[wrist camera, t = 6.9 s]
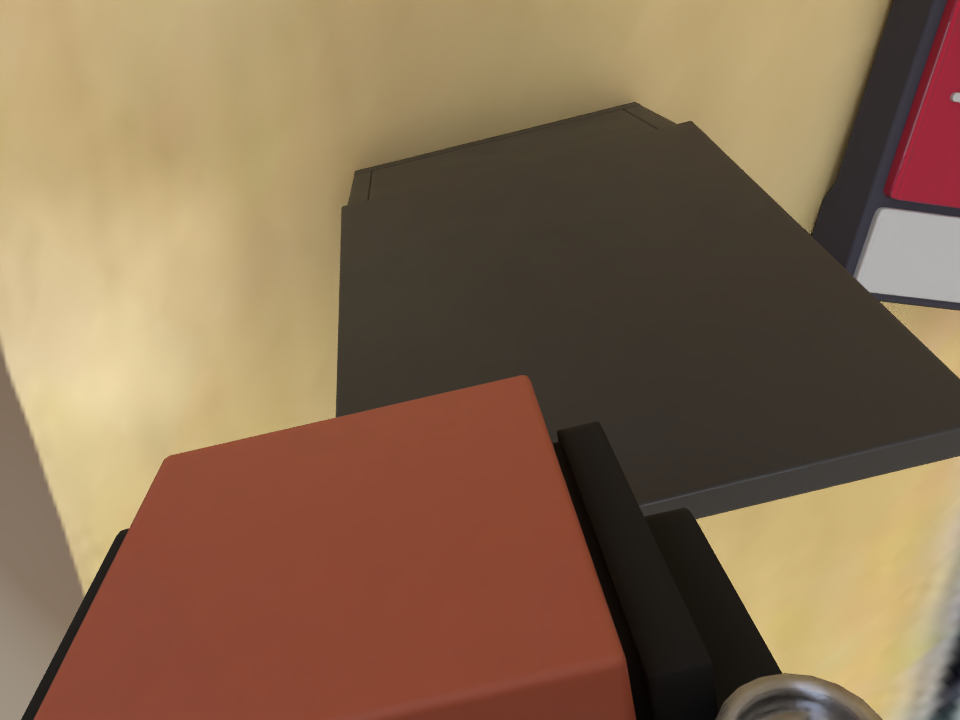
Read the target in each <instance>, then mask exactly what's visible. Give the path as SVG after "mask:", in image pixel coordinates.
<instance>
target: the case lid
mask: <svg viewBox="0 0 960 720" xmlns="http://www.w3.org/2000/svg"><path fill="white" fill-rule="evenodd" d="M520 375H526V376H528V378H529V379H530V380H531V383H532V386H533V389H534V392H535V395H536V398H537V401H538V403H539V406H540V409H541V412H542V415H543V418H544V421H545V424H546V427H547V430H548V433H549V436H550V439H551V441H552V443H555V442H558V437H557V430H561V429H565V428H570V427H574V426H579V425H583V424H587V423H592V422H596V421H599V422H600V424H601V426H602V428H603V430H604V432H605V434H606V436H607V438H608V441H609V443H610V445H611V447H612V449H613V451H614V453H615V456H616V458H617V460H618V462H619V464H620V466H621V468H622V470H623V473H624V475H625V477H626V479H627V481H628V483H629V485H630V488H631V490H632V492H633V494H634V496H635V498H636V500H637V502H638V505H639V507H640V509H641V511H642V513H643V515H644V517H645V516H649V515H654V514H658V513H662V512H667V511H671V510H676V509H680V508H684V507H685V508H687V509H688V510H690V512H691V513H692V515H693V516H694V518H695V519H699V518H703V517H707V516H711V515H715V514H720V513H724V512H728V511H732V510H736V509H740V508H745V507H749V506H753V505H757V504H761V503H766V502H770V501H774V500H778V499H782V498H786V497H791V496H795V495H799V494H803V493H807V492H811V491H816V490H820V489H824V488H828V487H832V486H836V485H841V484H845V483H849V482H853V481H857V480H861V479H866V478H870V477H874V476H878V475H882V474H887V473H891V472H895V471H899V470H903V469H907V468H912V467H916V466H920V465H924V464H928V463H932V462H937V461H941V460H945V459H949V458H953V457H957V456H960V379H959V378H958V377H957V376H956V375H955V374H954V373H953V372H952V371H951V370H950V369H949V368H948V367H947V366H946V365H945V364H944V363H943V362H942V361H941V360H939V359H938V358H937V357H936V356H935V355H934V354H933V353H932V352H931V351H930V350H929V349H928V348H927V347H926V346H925V345H924V344H923V343H922V342H921V341H920V340H919V339H918V338H917V337H916V336H915V335H914V334H912V333H911V332H910V331H909V330H908V329H907V328H906V327H905V326H904V325H903V324H902V323H901V322H900V321H899V320H898V319H897V318H896V317H895V316H894V315H893V314H892V313H891V312H890V311H889V310H888V309H886V308H885V307H884V306H883V305H882V304H881V303H880V302H879V301H878V300H877V299H876V298H875V297H874V296H873V295H872V294H871V293H870V292H869V291H868V290H867V289H866V288H865V287H864V286H863V285H862V284H861V283H859V282H858V281H857V280H856V279H855V278H854V277H853V276H852V275H851V274H850V273H849V272H848V271H847V270H846V269H845V268H844V267H843V266H842V265H841V264H840V263H839V262H838V261H837V260H836V259H835V258H833V257H832V256H831V255H830V254H829V253H828V252H827V251H826V250H825V249H824V248H823V247H822V246H821V245H820V244H819V243H818V242H817V241H816V240H815V239H814V238H813V237H812V236H811V235H810V234H809V233H808V232H806V231H805V230H804V229H803V228H802V227H801V226H800V225H799V224H798V223H797V222H796V221H795V220H794V219H793V218H792V217H791V216H790V215H789V214H788V213H787V212H786V211H785V210H784V209H783V208H782V207H780V206H779V205H778V204H777V203H776V202H775V201H774V200H773V199H772V198H771V197H770V196H769V195H768V194H767V193H766V192H765V191H764V190H763V189H762V188H761V187H760V186H759V185H758V184H757V183H756V182H755V181H753V180H752V179H751V178H750V177H749V176H748V175H747V174H746V173H745V172H744V171H743V170H742V169H741V168H740V167H739V166H738V165H737V164H736V163H735V162H734V161H733V160H732V159H731V158H730V157H729V156H727V155H726V154H725V153H724V152H723V151H722V150H721V149H720V148H719V147H718V146H717V145H716V144H715V143H714V142H713V141H712V140H711V139H710V138H709V137H708V136H707V135H706V134H705V133H704V132H703V131H702V130H700V129H699V128H698V127H697V126H696V125H695V124H694V123H693V122H692V121H688V122H684V123H680V124H676V125H672V126H668V127H664V128H660V129H656V130H652V131H648V132H644V133H640V134H636V135H632V136H627V137H623V138H619V139H615V140H611V141H607V142H603V143H599V144H595V145H591V146H587V147H583V148H579V149H575V150H571V151H567V152H563V153H558V154H554V155H550V156H546V157H542V158H538V159H534V160H530V161H526V162H522V163H518V164H514V165H510V166H506V167H502V168H498V169H494V170H490V171H485V172H481V173H477V174H473V175H469V176H465V177H461V178H457V179H453V180H449V181H445V182H441V183H437V184H433V185H429V186H425V187H421V188H416V189H412V190H408V191H404V192H400V193H396V194H392V195H388V196H384V197H380V198H376V199H372V200H368V201H364V202H360V203H356V204H352V205H348V206H343V207H342V215H341V251H340V287H339V323H338V359H337V395H336V418H337V417H341V416H345V415H350V414H354V413H358V412H363V411H367V410H372V409H376V408H380V407H385V406H389V405H393V404H398V403H402V402H406V401H411V400H415V399H420V398H424V397H428V396H433V395H437V394H441V393H446V392H450V391H455V390H459V389H463V388H468V387H472V386H476V385H481V384H485V383H489V382H494V381H498V380H503V379H507V378H511V377H516V376H520Z"/></svg>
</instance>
